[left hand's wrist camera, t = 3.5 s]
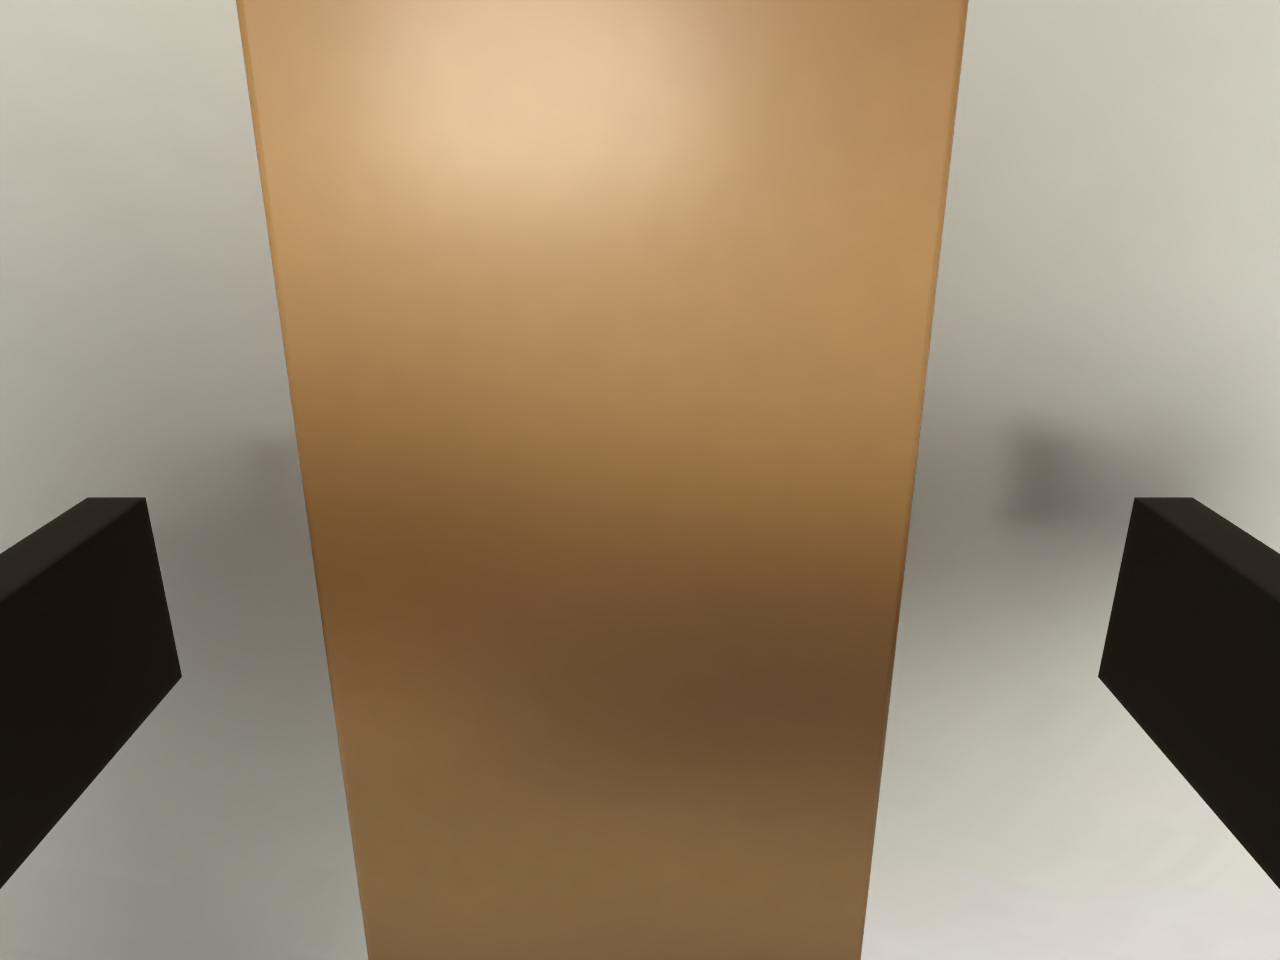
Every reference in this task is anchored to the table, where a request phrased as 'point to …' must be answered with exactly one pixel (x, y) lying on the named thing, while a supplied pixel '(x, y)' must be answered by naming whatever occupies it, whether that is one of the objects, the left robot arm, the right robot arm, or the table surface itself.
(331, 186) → the beam
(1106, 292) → the table surface
